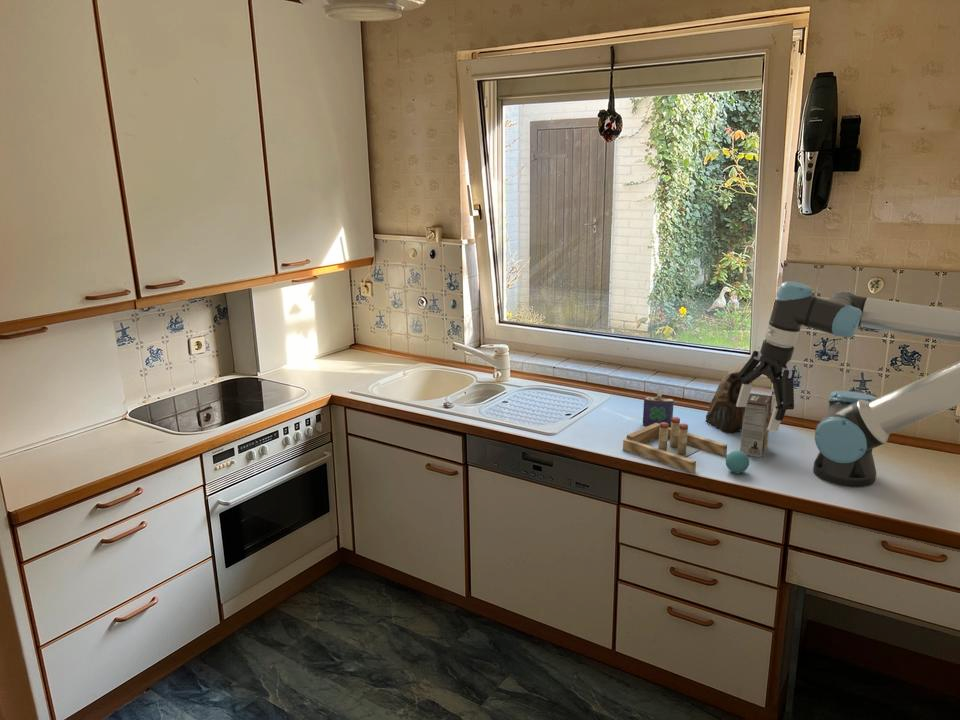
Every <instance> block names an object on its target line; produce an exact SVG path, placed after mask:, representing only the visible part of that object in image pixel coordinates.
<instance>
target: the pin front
mask: <svg viewBox="0 0 960 720" xmlns="http://www.w3.org/2000/svg"><path fill="white" fill-rule="evenodd" d="M688 433H689V424H687V423H680V424H679V438H678V452H677V454H679V455H686V447H687V446H688V445H687V434H688Z"/></svg>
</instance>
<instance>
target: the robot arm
mask: <svg viewBox="0 0 960 720" xmlns="http://www.w3.org/2000/svg"><path fill="white" fill-rule="evenodd" d="M802 326H804V327H807V328H810V329H813V330H817V331H820V332H824V333H827V334H830V335H834V336H836V337H842V338H843V337H844V338H847V339H851V338H853V337H854V336H855V334H856V332H857V330H858V328H859V327H861V328H865V329H866V328H867V329H872V330H878V331H884V332H885V331H886V332H890V333H896V334H903V335H908V336H914V337H920V338H926V339H932V340H938V341H943V342H949V343H955V344H960V310H956V309H949V308H943V307H935V306H929V305H923V304H913V303H908V302H902V301H901V302H900V301H895V300H889V299H882V298H881V299H879V298H875V297H867V296H866V297H865V296H860V295H856V294H854V293H853V292H851V291H841V292H836V293H834V294H833V295H832V296H831V297H830V296H829V298H828V299H826V298H825V299H824V298H821V297H817V296H814V295H813V288H812V287H811V286H810V285H807V284H804V283H802V282H798V281H784V282H782V283H781V284H780V286H779V289H778V291H777V295H776V297H775V299H774V304H773V308H772V310H771V314H770V318H769V320H768V325H767V328H766V331H765V335H764V340H763V341H762V344H761V348H760V350H753V351H752V354H751V357H750V358H749V359H748V360H747V362H746V365H745V366H744V367H743V368H742V370H741V371H740V372H739V373H738V375H737V377H738V378H740V379H741V386H740V390H739V397H738V400H737V404H736V406H737V407H746V405H747V402H748V398H749V395H750V393H752V392H751V391H752V387H753V384H752V383H753V382H754V381H755V380H756V379H758V378H760V377H761V376H762V375H764V376H765V377H767V378H768V379H769V380H770V382H771V384H772V386H773V391H774V392H773V393H774V397H775V401H776V406H773V409H772V412H771V415H770V422H769V425H768V428H767V430H769V432H771V431H772V432H773V431H774V432H775V431H779V428H780V425H781V422H782V421H783V419H785V418H784V417H785V414H786V412H787V411H788V410H794V409H795V395H794V394H795V391H794V388H795V387H794V378H795V373H796V372H795V370H794V369H788V368H787V364H788V363H789V362H790V361H791V360H792V358H793V354H794V350H795V348H794V347H795V346H796V345H797V341H798V338H799V335H800V331H801V327H802ZM827 402H828V407H827V410H826V413H825V414H824V416H823V417H822V419H821V420H820V421H819V423H818V424H817V425H816V427H815V433H814V443H815V446H816V448H817V449H818V451H819V452H818V454H817V456H816V458H815V460H814V462H813V465H812V466H813V468H812V472H813V474H814V475H815V476H816V477H817V478H819V479H821V480H823V481H824V482H827V483H829V484H832V485H833V484H834V485H837V486H842V487H848V488H865V487H869V486H872V485H874V484H875V483H876V480H877V469H876V464H875V460H874V456H873V455H874V454H873V449H875V448H877V447H879V446H882V445H884V444H886V443H887V442H888V439H889V436H890V434H894V433H895V432H898V431H900V430H902V429H905V428H907V427H910V426H911V425H914V424H916V423H919V422H921V421H924V420H926V419H928V418H931V417H933V416H936V415H938V414H940V413H942V412H945V411H947V410H949V409H951V408H954V407H956V406H959V405H960V360H959V361H956V362H954V363H953V364H949V365H948V366H945V367H943V368H940V369H939V370H936V371H935V372H933V373H929V374H928V375H926V376H924V377H921V378H920V379H917V380H915V381H913V382H910V383H909V384H907V385H903V387H900V388H897V389H895V390H894V391H891V392H889V393H887V394H884V395H882V396H879V397H878V398H877V397H876V396H873V395H871V394H868V393H863V392H858V391H849V390H835V391H832V392H830V395H829V398H828V400H827Z"/></svg>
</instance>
